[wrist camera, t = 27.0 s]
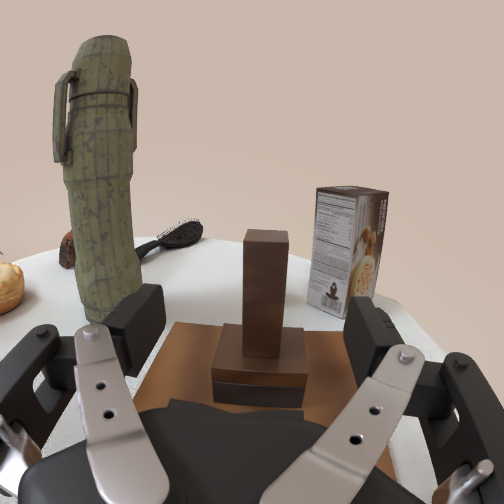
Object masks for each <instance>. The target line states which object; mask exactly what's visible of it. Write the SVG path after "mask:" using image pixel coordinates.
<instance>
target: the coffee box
mask: <svg viewBox="0 0 504 504" xmlns="http://www.w3.org/2000/svg"><path fill="white" fill-rule="evenodd" d="M316 190H317V191H316V209H315V223H314V236H313V248H312V260H311V271H310V281H309V291H308V300H307V303H308V304H310V305H312V306H314V307H316V308H319V309H321V310H323V311H325V312H328V313H330V314H332V315H334V316H336V317H339V318H341V319H344V318H346V315H347V310H348V304H349V300H350V297H351V296H368V297H369V298H370V299H371V298H373V296H374V291H375V285H376V280H377V275H378V269H379V264H380V257H381V252H382V245H383V238H384V231H385V223H386V215H387V206H388V196H389V192H386V191H380V190H375V189H369V188H364V187H357V186H338V187H337V186H336V187H324V188H323V187H322V188H316Z"/></svg>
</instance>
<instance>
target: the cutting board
mask: <svg viewBox="0 0 504 504" xmlns="http://www.w3.org/2000/svg"><path fill="white" fill-rule="evenodd" d="M222 328H223V326H214V325H203V324H193V323H183V322H175V323H174V325H173V327H172V328H171V330H170V332H169V334H168V336H167V337H166V339H165V341H164V343H163V345H162V346H161V348H160V350H159V352H158V354H157V356H156V357H155V359H154V361H153V363H152V365H151V367H150V368H149V370H148V372H147V374H146V376H145V378H144V380H143V381H142V383H141V385H140V387H139V389H138V391H137V393H136V395H135V396H134V398H133V403H134V405H135V408H136V410H137V413H139V412H142V411H145V410H148V409H153V408H160V407H167V405H168V403H169V400H170V398H172V399H178V400H184V401H190V402H197V403H203V404H206V405H209V406H212V407H215V408H218V409H221V410H224V411H227V412H231V413H245V412H254V411H262V410H269V409H274V410H304V420H308V421H312V422H315V423H318V424H321V425H323V426H325V427H327V428H329V427H330V425H331V424H332V423H333V422H334V420H335V419H336V418H337V417H338V415H339V414H340V413H341V412H342V410H343V409H344V408H345V406H346V405H347V404H348V403H349V401H350V400H351V399H352V397H353V396H354V395H355V393H356V392H357V390H358V388H357V384H356V381H355V377H354V374H353V370H352V367H351V364H350V360H349V357H348V354H347V350H346V347H345V344H344V340H343V332H342V331H304V337H305V346H306V355H307V364H308V373H309V374H308V379H307V384H306V389H305V394H304V399H303V403H302V408H277V407H258V406H244V405H233V404H223V403H215V402H213V391H212V379H211V364H212V361H213V357H214V354H215V351H216V348H217V344H218V341H219V338H220V334H221V331H222ZM375 466H377V467H378V468H379V469H380V470H382V471H383V472H384V473H385V474H387V475H388V476H389V477H391V478H392V479H393V480H394V481H396V477H395V473H394V469H393V465H392V461H391V457H390V453H389V449H388V446H387V445H386V447H385V449H384V451H383V452H382V454H381V456H380V457H379V459H378V461H377V462H376V464H375ZM396 482H397V481H396Z"/></svg>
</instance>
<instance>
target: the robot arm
mask: <svg viewBox="0 0 504 504" xmlns="http://www.w3.org/2000/svg"><path fill="white" fill-rule="evenodd" d="M165 325H166V313H165V305H164V296H163V289H162V286H161V285H157V284H146V283H144V284H143V285H142V286H141V287H140V288H139V289H138V290H137V291H136V293H132V294H130V295H128V296H126V297H124V298H123V299H122V300H121V301H120V302H119V303H118V305H117V306H116V307H115V308H114V310H112V311H111V312H110V313H109V314H108V315H107V316H106V318H105V319H104V320H103V321H102V322H101V323H100V324H89V325H86V326H84V327H82V328H80V329H79V330H78V331H77V332H76V333H75V336H59V333H58V330H57V328H56V327H55V326H54V325H51V324H44V325H40V326H37V327H35V328H33V329H32V330H31V331H30V332H29V333H28V334H27V335H26V336H25V337H24V338H23V339H22V340H21V341H20V342H19V343H18V344H17V345H16V346H15V347H14V348H13V349H12V350H11V351H10V352H9V353H8V354H7V355H6V356H5V358H4V359H3V360H2V361H1V362H0V494H2V495H4V496H7V497H12V496H13V497H15V498H16V499H18V504H426V503H425V502H423V501H422V500H420V499H419V498H418V497H416V496H415V495H413V494H412V493H411V492H409V491H408V490H406V489H405V488H404V487H402V486H401V485H400V484H398V483H397V482H396V481H394V480H393V479H392V478H391V477H389V476H388V475H387V474H385V473H384V472H383V471H382V470H380V469H379V468H378V467H377V466H375V464H376V462H377V461H378V459H379V457H380V456H381V454H382V452H383V451H384V449H385V447H386V445H387V444H388V442H389V440H390V438H391V436H392V434H393V432H394V431H395V429H396V427H397V425H398V423H399V421H400V419H401V417H402V415H406V416H414V417H418V418H419V421H420V425H421V428H422V431H423V434H424V437H425V440H426V444H427V447H428V450H429V454H430V457H431V461H432V464H433V468H434V472H435V476H436V479H437V483H438V488H437V489H436V490H435V492H434V494H433V496H432V504H504V409H503V407H502V405H501V403H500V402H499V400H498V398H497V396H496V395H495V393H494V391H493V390H492V388H491V386H490V385H489V383H488V381H487V380H486V378H485V377H484V375H483V374H482V372H481V370H480V369H479V367H478V366H477V364H476V363H475V361H474V360H473V359H472V358H471V357H469V356H468V355H466V354H463V353H459V352H453V353H449V354H448V355H447V356H446V357H445V359H444V362H443V363H437V362H430V361H425V358H424V355H423V354H422V352H421V351H420V350H418V349H417V348H415V347H413V346H410V345H405V343H404V341H403V339H402V338H401V336H400V334H399V333H398V331H397V329H396V328H395V326H394V324H393V322H392V321H391V319H390V317H389V316H388V314H387V313H386V312H384V311H383V310H382V309H380V308H375V307H374V305H373V303H372V301H371V300H370V298H369V297H368V296H351V297H350V300H349V304H348V310H347V315H346V319H345V324H344V330H343V340H344V344H345V347H346V350H347V354H348V357H349V360H350V364H351V367H352V370H353V374H354V377H355V381H356V384H357V388H358V390H357V392H356V393H355V395H354V396H353V397H352V399H351V400H350V401H349V403H348V404H347V405H346V406H345V408H344V409H343V410H342V412H341V413H340V414H339V415H338V417H337V418H336V419H335V420H334V422H333V423H332V424H331V425H330V427H329V428H327V427H325V426H323V425H321V424H318V423H315V422H312V421H308V420H304V410H274V409H269V410H262V411H254V412H245V413H231V412H227V411H224V410H221V409H218V408H215V407H212V406H209V405H206V404H203V403H197V402H190V401H184V400H178V399H172V398H170V400H169V403H168V405H167V407H160V408H153V409H148V410H145V411H142V412H139V413H137V410H136V408H135V405H134V403H133V400H132V397H131V395H130V392H129V389H128V387H127V384H126V381H125V376H130V377H135V378H137V376H138V374H139V372H140V371H141V369H142V367H143V365H144V364H145V362H146V360H147V358H148V357H149V355H150V353H151V351H152V350H153V348H154V346H155V344H156V343H157V341H158V339H159V337H160V336H161V334H162V332H163V331H164V328H165ZM40 371H42V373H43V375H44V377H45V379H44V381H43V382H42V383H41V385H40V386H39V388H38V389H37V390H36V392H35V393H34V391H33V381H34V379H35V377H36V376H37V375H38V373H39V372H40ZM76 390H77V395H78V401H79V406H80V412H81V417H82V422H83V427H84V431H85V435H86V439H85V440H83V441H81V442H79V443H77V444H75V445H72V446H70V447H68V448H66V449H64V450H61V451H59V452H57V453H55V454H52V455H50V456H48V457H45V458H43V459H42V454H41V450H42V448H43V446H44V445H45V443H46V441H47V439H48V437H49V436H50V434H51V432H52V430H53V429H54V427H55V425H56V423H57V422H58V420H59V418H60V417H61V415H62V413H63V412H64V410H65V408H66V407H67V405H68V403H69V402H70V400H71V398H72V397H73V395H74V394H75V392H76ZM455 408H456V409H457V411H458V414H459V422H458V420H457V417H456V415H455V413H454V409H455Z"/></svg>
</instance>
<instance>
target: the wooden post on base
mask: <svg viewBox="0 0 504 504" xmlns="http://www.w3.org/2000/svg"><path fill="white" fill-rule="evenodd" d="M288 250H289V240H288V232H287V231H277V230H256V229H255V230H254V229H248V230H247V233H246V236H245V238H244V241H243V305H242V325H239V324H226V323H224V324H223V328H222V331H221V334H220V338H219V341H218V344H217V348H216V351H215V354H214V357H213V361H212V364H211V379H212V391H213V402H215V403H223V404H233V405H244V406H258V407H277V408H302V403H303V399H304V394H305V389H306V384H307V379H308V374H309V373H308V364H307V355H306V346H305V337H304V329H303V328H293V327H282V326H283V315H284V303H285V291H286V278H287V265H288Z"/></svg>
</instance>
